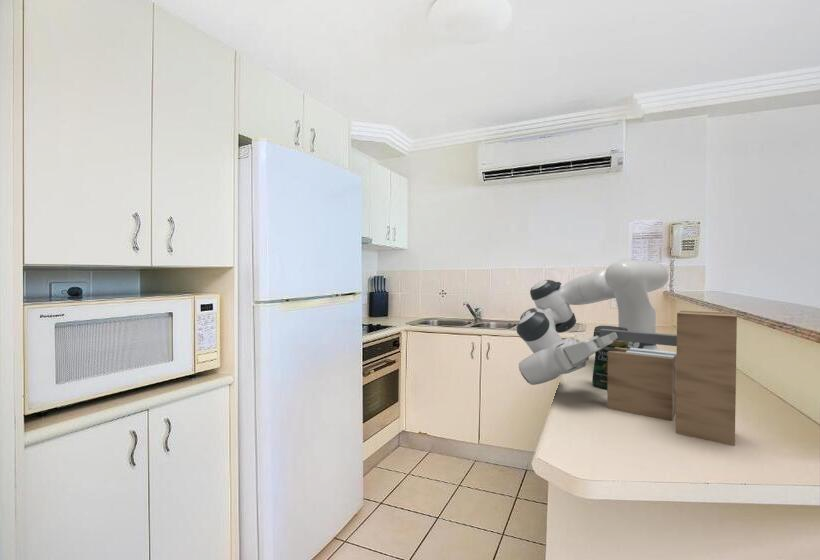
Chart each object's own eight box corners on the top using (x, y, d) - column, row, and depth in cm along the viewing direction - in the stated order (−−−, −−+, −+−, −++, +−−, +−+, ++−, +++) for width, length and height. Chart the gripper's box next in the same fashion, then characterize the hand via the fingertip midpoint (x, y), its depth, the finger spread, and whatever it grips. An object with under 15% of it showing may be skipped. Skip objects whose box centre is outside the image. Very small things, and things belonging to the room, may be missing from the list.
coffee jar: (588, 386, 123) (589, 325, 122) (598, 381, 128) (599, 323, 128) (623, 393, 116) (623, 329, 115) (631, 387, 121) (632, 326, 121)
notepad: (631, 349, 106) (631, 347, 106) (676, 354, 100) (676, 352, 100) (625, 353, 101) (625, 351, 101) (673, 358, 94) (673, 357, 94)
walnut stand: (614, 400, 109) (615, 304, 109) (735, 422, 93) (736, 310, 93) (598, 416, 97) (599, 309, 96) (734, 445, 81) (736, 316, 80)
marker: (595, 337, 110) (596, 327, 109) (705, 347, 94) (705, 336, 94) (593, 338, 108) (593, 328, 107) (704, 349, 92) (705, 337, 92)
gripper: (587, 358, 120) (633, 339, 112) (564, 371, 104) (616, 350, 96) (577, 339, 121) (621, 319, 114) (552, 349, 106) (602, 326, 98)
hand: (618, 333), depth 105 cm, fingers closed on marker, 2 cm apart
